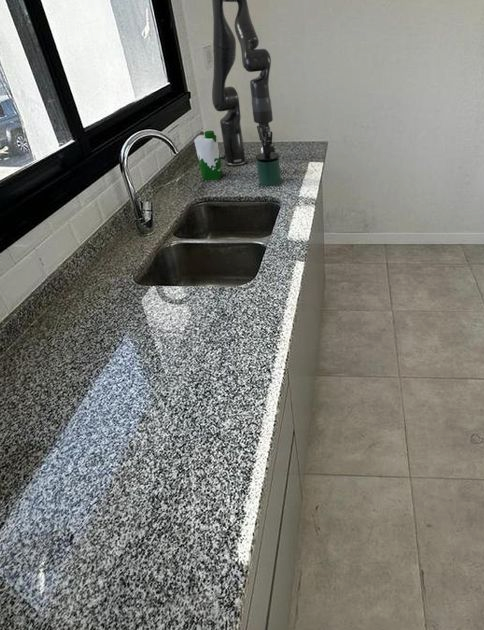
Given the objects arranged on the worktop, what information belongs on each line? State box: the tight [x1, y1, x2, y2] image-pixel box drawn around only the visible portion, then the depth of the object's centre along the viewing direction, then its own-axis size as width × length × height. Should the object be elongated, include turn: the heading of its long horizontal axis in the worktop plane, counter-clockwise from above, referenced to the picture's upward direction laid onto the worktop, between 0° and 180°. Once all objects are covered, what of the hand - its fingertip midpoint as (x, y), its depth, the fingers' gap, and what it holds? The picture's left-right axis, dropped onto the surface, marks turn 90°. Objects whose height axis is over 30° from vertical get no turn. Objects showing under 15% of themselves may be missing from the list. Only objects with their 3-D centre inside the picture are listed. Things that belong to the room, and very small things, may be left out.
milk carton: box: [193, 130, 224, 181], centre depth 191 cm, size 9×9×20 cm
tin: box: [256, 157, 282, 187], centre depth 186 cm, size 9×9×10 cm
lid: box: [255, 143, 280, 161], centre depth 181 cm, size 10×10×6 cm
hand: (267, 153), depth 181 cm, fingers closed on lid, 2 cm apart
